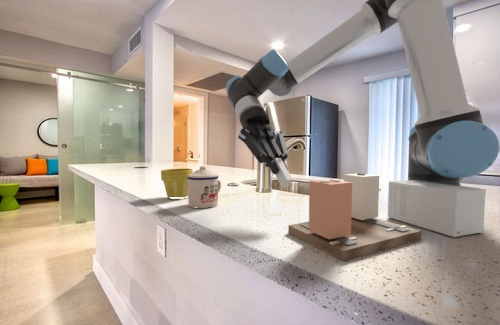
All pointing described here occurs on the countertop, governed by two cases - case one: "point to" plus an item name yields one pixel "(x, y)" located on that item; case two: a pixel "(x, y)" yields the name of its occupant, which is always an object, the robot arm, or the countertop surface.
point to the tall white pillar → (364, 195)
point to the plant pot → (176, 181)
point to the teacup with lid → (203, 188)
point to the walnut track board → (358, 238)
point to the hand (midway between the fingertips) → (287, 183)
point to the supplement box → (437, 206)
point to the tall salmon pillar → (330, 208)
